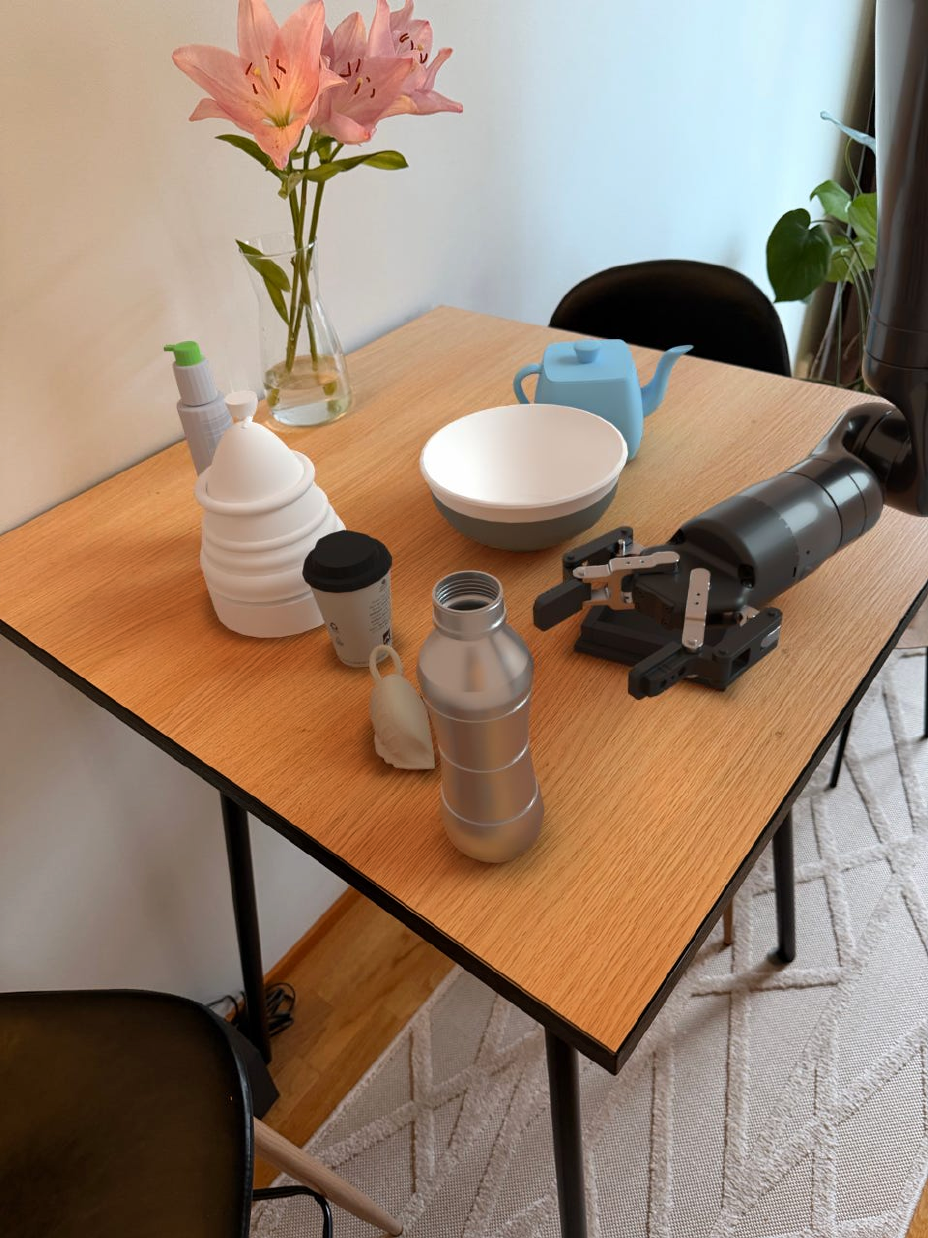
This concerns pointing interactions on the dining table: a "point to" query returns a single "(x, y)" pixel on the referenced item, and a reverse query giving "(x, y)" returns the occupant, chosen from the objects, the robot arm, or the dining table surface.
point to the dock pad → (634, 635)
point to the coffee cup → (352, 593)
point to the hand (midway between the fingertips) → (582, 651)
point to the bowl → (524, 474)
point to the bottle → (199, 403)
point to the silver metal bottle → (481, 719)
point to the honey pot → (260, 528)
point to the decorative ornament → (399, 718)
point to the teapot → (600, 383)
